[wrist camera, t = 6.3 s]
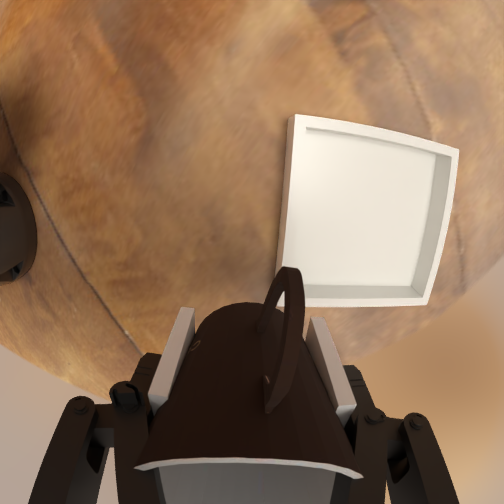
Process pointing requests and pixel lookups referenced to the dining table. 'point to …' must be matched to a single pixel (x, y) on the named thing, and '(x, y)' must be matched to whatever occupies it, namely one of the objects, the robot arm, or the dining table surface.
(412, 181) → the white tray
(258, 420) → the coffee mug
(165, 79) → the dining table surface
